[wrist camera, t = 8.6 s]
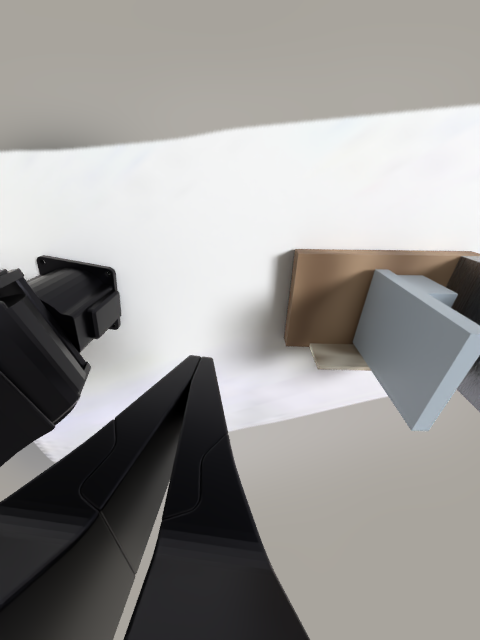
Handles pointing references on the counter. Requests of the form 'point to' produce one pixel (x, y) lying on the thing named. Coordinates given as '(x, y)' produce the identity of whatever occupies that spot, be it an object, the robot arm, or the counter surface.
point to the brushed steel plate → (468, 316)
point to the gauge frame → (347, 296)
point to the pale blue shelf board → (415, 344)
